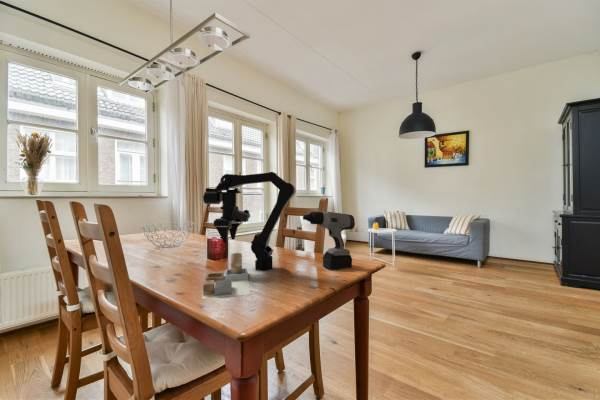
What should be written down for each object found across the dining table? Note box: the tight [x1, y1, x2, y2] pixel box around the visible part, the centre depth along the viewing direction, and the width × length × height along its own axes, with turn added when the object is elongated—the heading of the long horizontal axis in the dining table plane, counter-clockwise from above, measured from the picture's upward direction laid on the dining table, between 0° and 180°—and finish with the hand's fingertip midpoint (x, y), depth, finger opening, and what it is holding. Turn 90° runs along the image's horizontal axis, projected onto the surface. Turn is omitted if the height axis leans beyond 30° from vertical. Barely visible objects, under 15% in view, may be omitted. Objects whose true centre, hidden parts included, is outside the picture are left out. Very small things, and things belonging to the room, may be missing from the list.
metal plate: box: [215, 279, 232, 296], centre depth 84 cm, size 5×7×2 cm
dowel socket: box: [205, 271, 225, 282], centre depth 96 cm, size 6×6×2 cm
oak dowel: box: [230, 252, 243, 275], centre depth 98 cm, size 4×4×8 cm
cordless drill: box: [302, 210, 356, 271], centre depth 115 cm, size 8×24×25 cm, turn 113°
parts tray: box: [224, 267, 249, 281], centre depth 98 cm, size 8×8×2 cm
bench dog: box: [202, 280, 214, 296], centre depth 83 cm, size 3×4×3 cm
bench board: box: [201, 273, 251, 300], centre depth 91 cm, size 14×25×1 cm, turn 14°
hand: (229, 241), depth 111 cm, fingers open, 9 cm apart
